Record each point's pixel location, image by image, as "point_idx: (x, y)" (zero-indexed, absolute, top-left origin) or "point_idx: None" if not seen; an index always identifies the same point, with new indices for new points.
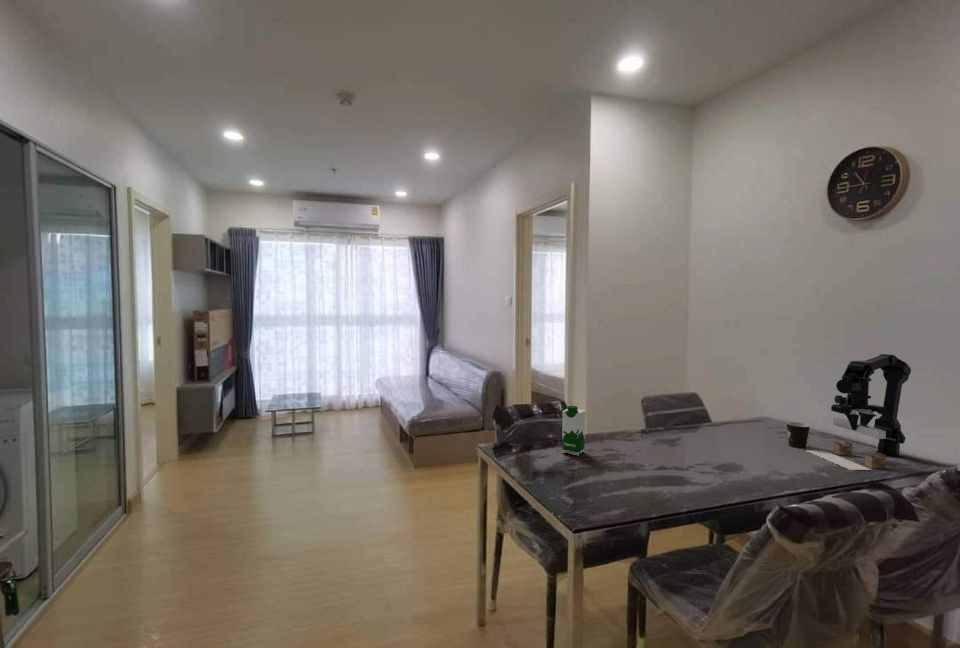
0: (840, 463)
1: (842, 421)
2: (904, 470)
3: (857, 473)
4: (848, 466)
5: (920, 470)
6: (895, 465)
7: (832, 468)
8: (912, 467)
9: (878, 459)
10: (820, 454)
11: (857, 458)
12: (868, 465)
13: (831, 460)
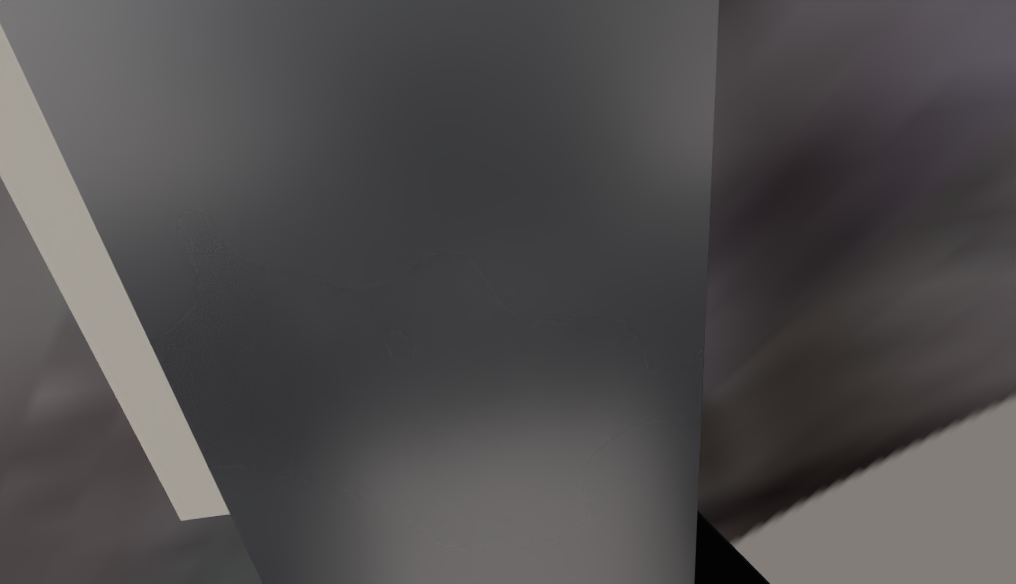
0: (149, 364)
1: (75, 50)
2: (767, 418)
3: (211, 565)
4: (198, 446)
5: (944, 391)
6: (837, 277)
7: (9, 489)
8: (969, 313)
9: None
10: None
11: None
12: None
13: (71, 270)
